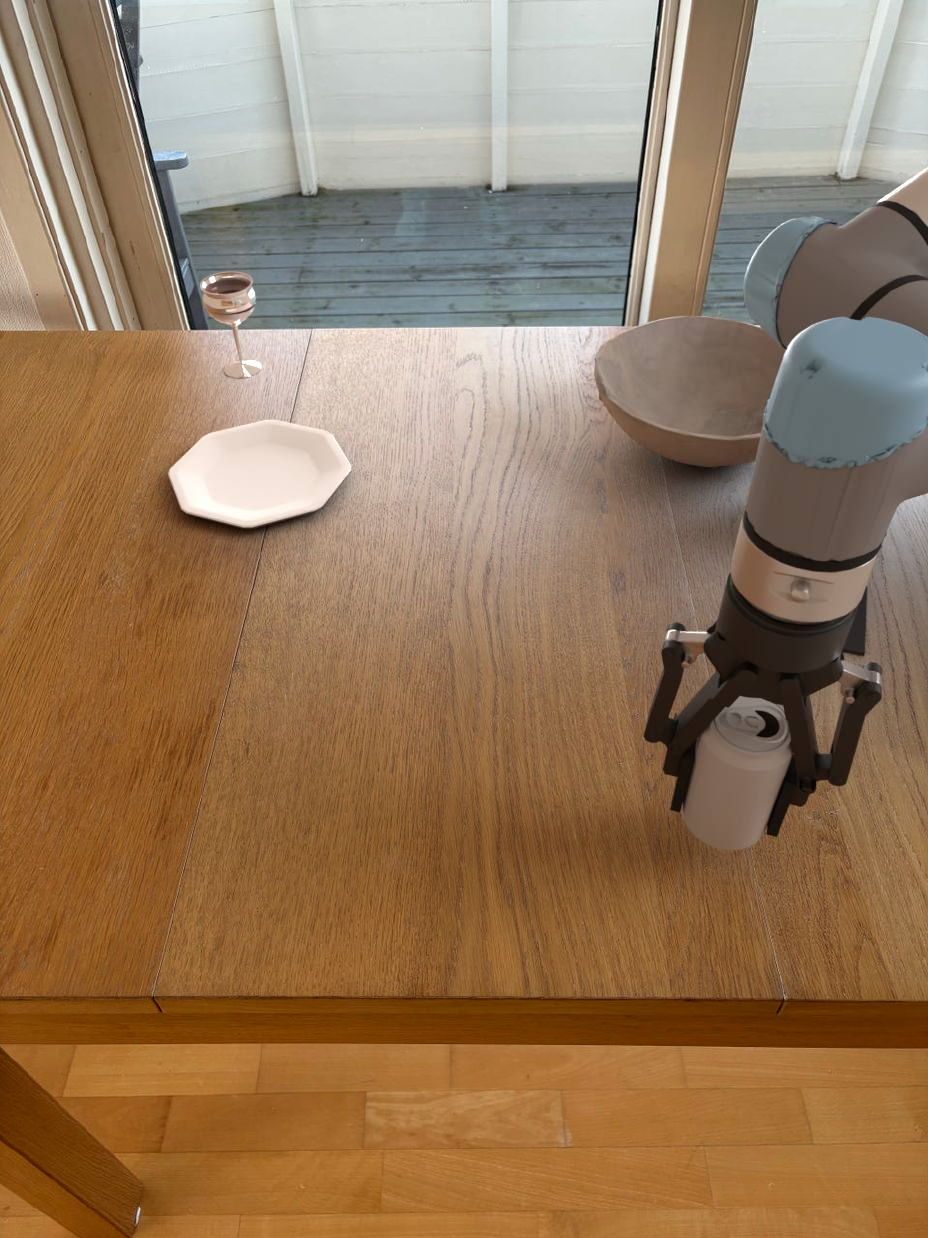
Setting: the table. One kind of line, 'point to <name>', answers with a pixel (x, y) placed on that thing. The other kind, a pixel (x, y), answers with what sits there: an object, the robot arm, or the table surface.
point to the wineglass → (231, 311)
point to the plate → (259, 474)
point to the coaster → (858, 630)
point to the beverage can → (737, 774)
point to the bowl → (690, 387)
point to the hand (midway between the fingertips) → (725, 808)
